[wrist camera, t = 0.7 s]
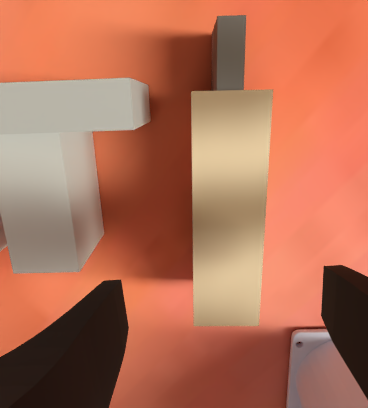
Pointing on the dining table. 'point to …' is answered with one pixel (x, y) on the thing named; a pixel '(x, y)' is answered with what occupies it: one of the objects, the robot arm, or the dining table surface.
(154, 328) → the dining table surface
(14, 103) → the grey stepped block
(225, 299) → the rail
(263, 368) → the dining table surface
